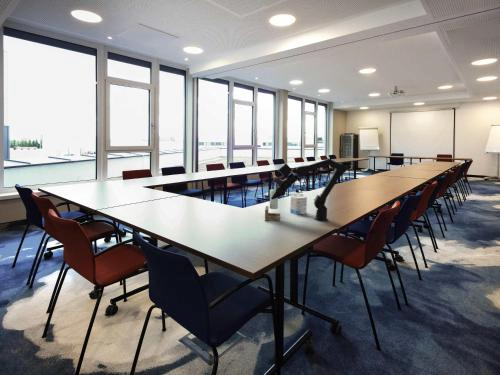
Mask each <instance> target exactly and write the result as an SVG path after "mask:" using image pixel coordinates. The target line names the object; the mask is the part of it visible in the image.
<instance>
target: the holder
mask: <svg viewBox="0 0 500 375" xmlns="http://www.w3.org/2000/svg"><path fill="white" fill-rule="evenodd" d="M279 220H280V221H281V213H280V212H279V213H278V212H269V205H265V208H264V221H265V222H268V221H279Z"/></svg>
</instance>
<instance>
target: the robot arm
mask: <svg viewBox="0 0 500 375" xmlns="http://www.w3.org/2000/svg"><path fill="white" fill-rule="evenodd" d="M327 166H330V167H332V168H334V169H333V173H332V175H331V177H330V179H329V181H328V182H327V184H326V185H325V187H324V189H323V190H322V191H321V193H320V194H319V195H318V194H316V196H315V198H314V199H313V200H314V202H313V205H314V207H315V208H316V213H315V218H314V220H315V221H319V222H325V221H329V218H328V207H327V206H326V205H325V204H326V201H327V199H328V196H329V195H330V193H331V191H332V190H333V189H334V186H335V185H336V183H337V182H338V181H339V179H340V178H341V177H342V176H343V175H344V174H345V173H346V172H347V171H348V170H347V169H348V168H347V167H348V166H347V165H346V164H345V163H342V162H341V163H340V162H339V163H338V162H337V161H334V160H332V159H331V158H326V159H324V160H321V161H317V162H315V163H312V164H308V165H299V166H297V167H296V168H291V167H290V166H289V164H288V163H286V162H285V163H284V164H283V165H281V167H280V168H278V170H277V172H279V173H280V174H281V175H282V176H283V177H286V178H284V179H282V178H280V177H278V176H274V177H273V180H272V183H276V187H275V189H276V192H275V194H274V195H273V196H272V198H271V199H275V198H278V199H279V198H281V197H284V196H285V195H286V192H287V190H288V189H290V188H291V187H292V186H293V185H294V184H295V183H296V182H297V181H298V182H299V183H300V182H301V177H303V176H304V175H307V174H308V173H310V172H312V171H315V170H318V169H321V168H324V167H327Z"/></svg>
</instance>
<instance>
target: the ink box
mask: <svg viewBox="0 0 500 375" xmlns="http://www.w3.org/2000/svg"><path fill="white" fill-rule="evenodd" d="M307 204H308V197H307V196H305V195H304V194H303V193H293V194H292V195H290V208H289V209H290V210H289V212H290V213H291V214H294V215H296V214H297V215H305V213H306V214H307V210H308V209H307Z"/></svg>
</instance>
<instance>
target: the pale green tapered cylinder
mask: <svg viewBox="0 0 500 375" xmlns="http://www.w3.org/2000/svg"><path fill="white" fill-rule="evenodd" d="M275 192H276V188H275V189H269V209H271V210H277V209H278V208H279V197H278V198H275V199H271V198H272V196H273V195H274V194H275Z"/></svg>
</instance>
